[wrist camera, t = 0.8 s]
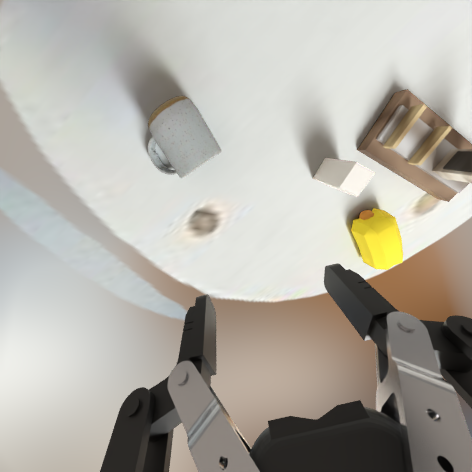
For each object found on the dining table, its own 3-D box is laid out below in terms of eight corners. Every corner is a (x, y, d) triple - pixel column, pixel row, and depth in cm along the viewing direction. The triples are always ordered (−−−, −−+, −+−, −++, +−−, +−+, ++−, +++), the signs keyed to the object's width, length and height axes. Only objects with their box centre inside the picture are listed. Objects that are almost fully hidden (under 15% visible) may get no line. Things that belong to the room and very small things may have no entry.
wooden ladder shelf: (394, 92, 27) (487, 66, 18) (476, 159, 34) (572, 165, 25) (357, 149, 31) (417, 152, 22) (437, 198, 38) (508, 216, 29)
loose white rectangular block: (325, 157, 31) (356, 161, 24) (342, 167, 32) (377, 174, 25) (312, 178, 33) (339, 188, 26) (330, 187, 34) (359, 198, 27)
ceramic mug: (191, 98, 25) (181, 82, 18) (222, 150, 29) (223, 153, 22) (138, 140, 27) (112, 140, 20) (173, 184, 31) (161, 196, 24)
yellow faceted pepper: (361, 265, 46) (389, 250, 45) (382, 282, 40) (415, 266, 39) (342, 218, 38) (375, 198, 36) (365, 231, 32) (406, 208, 31)
